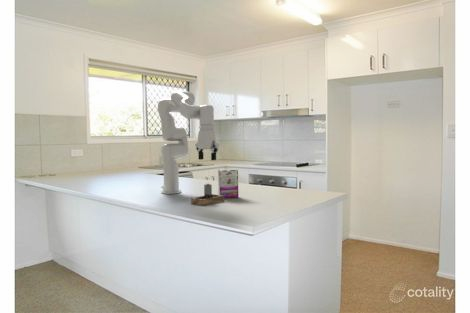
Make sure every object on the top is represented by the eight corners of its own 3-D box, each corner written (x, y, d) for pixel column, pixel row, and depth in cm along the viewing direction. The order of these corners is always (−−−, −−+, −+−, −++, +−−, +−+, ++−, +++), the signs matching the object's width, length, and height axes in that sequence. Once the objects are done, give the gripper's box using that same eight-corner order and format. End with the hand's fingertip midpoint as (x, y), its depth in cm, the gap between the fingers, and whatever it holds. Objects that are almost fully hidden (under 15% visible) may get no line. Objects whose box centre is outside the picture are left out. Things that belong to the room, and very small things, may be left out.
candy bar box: (236, 196, 205) (236, 169, 204) (238, 197, 200) (238, 169, 199) (218, 197, 202) (217, 169, 201) (220, 198, 197) (219, 170, 196)
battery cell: (202, 201, 187) (202, 183, 186) (208, 200, 190) (207, 183, 189) (207, 202, 184) (207, 184, 184) (213, 201, 187) (213, 183, 187)
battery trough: (191, 203, 184) (191, 198, 183) (212, 199, 196) (212, 194, 196) (202, 205, 178) (202, 200, 178) (224, 200, 190) (224, 195, 190)
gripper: (190, 128, 188) (191, 159, 189) (213, 127, 176) (214, 160, 177) (200, 128, 193) (201, 158, 194) (223, 127, 182) (223, 160, 183)
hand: (207, 159), depth 186 cm, fingers open, 9 cm apart
